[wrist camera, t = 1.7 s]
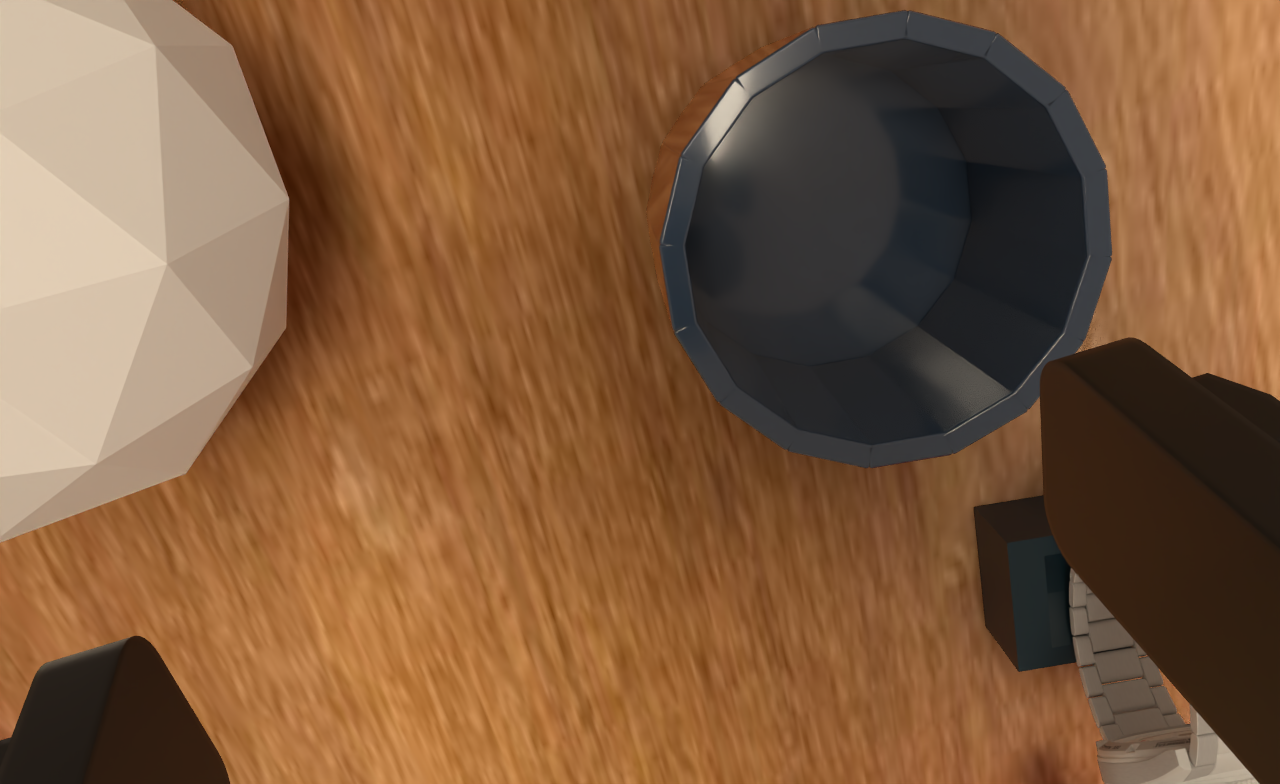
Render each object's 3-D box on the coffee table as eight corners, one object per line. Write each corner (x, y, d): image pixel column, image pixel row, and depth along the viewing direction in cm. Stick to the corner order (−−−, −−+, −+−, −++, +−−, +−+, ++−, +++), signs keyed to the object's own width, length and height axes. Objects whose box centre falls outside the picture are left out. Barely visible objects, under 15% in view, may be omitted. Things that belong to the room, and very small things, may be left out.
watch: (990, 678, 38) (1139, 900, 28) (969, 456, 36) (1120, 602, 26) (1154, 651, 38) (1367, 862, 27) (1141, 426, 36) (1365, 561, 25)
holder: (692, 2, 33) (724, -37, 24) (1025, 84, 33) (1173, 76, 25) (615, 338, 35) (618, 416, 26) (927, 407, 36) (1032, 504, 27)
